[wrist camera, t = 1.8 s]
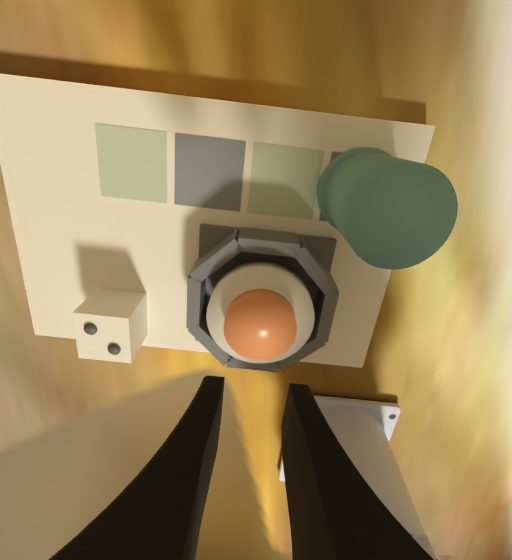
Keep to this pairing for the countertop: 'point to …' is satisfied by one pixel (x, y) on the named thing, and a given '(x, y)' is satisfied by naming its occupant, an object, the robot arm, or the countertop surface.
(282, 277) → the dome button
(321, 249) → the game board
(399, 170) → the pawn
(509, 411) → the countertop surface
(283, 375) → the countertop surface
